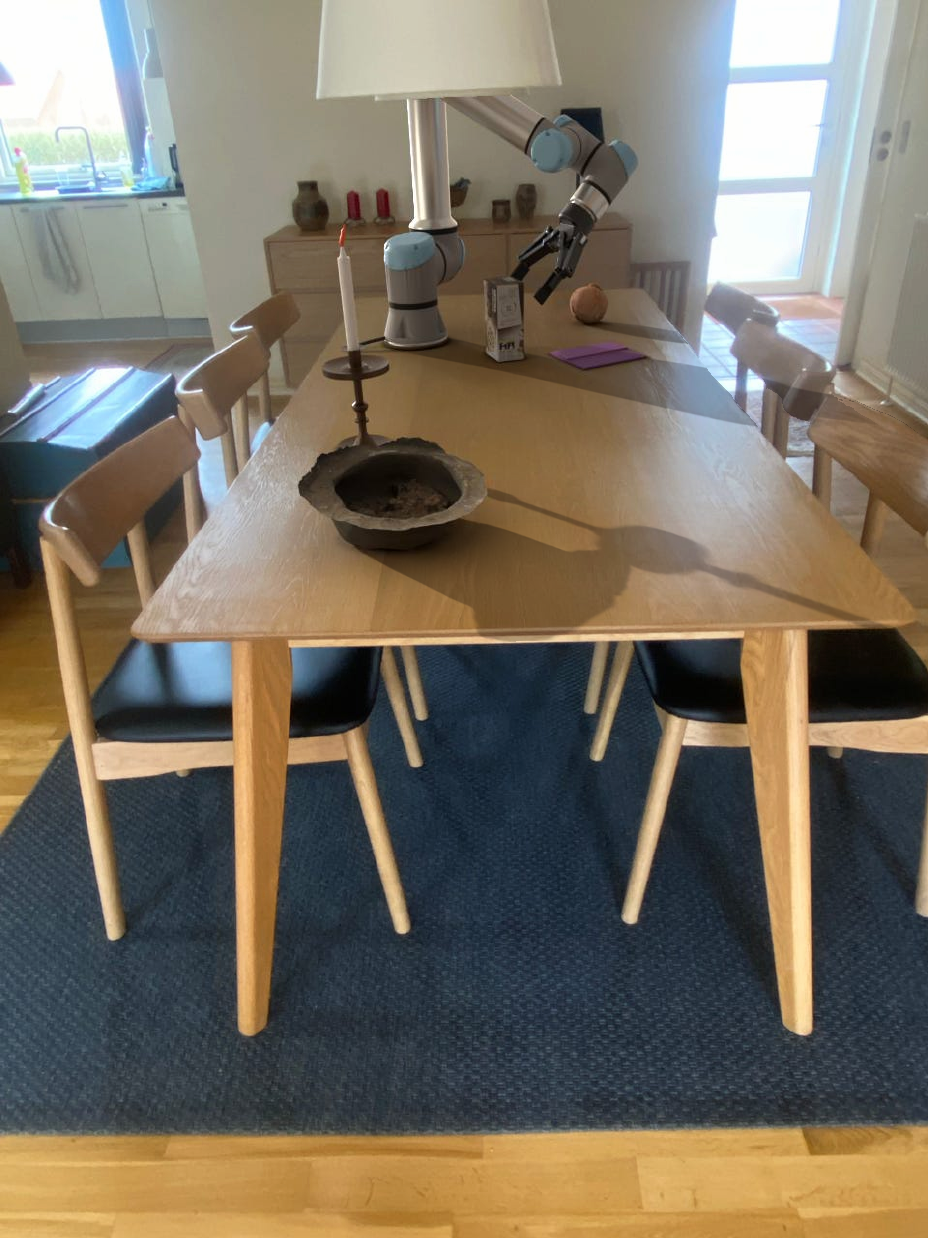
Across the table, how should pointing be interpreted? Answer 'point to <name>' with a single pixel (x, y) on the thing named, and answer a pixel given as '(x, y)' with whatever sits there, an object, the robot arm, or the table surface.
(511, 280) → the coffee box
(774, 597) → the table surface
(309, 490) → the stone bowl
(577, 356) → the napkin
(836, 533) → the table surface
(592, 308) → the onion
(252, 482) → the table surface
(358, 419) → the candlestick
